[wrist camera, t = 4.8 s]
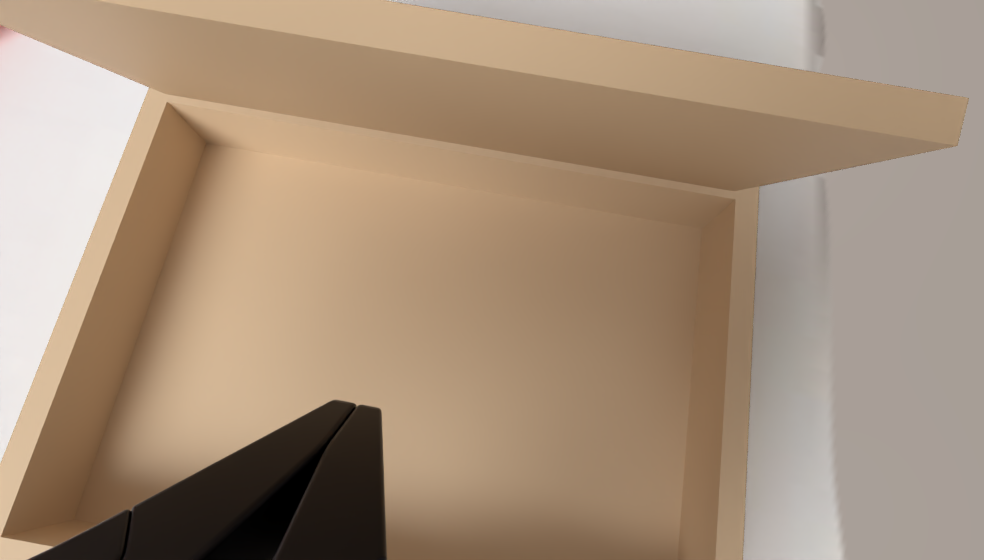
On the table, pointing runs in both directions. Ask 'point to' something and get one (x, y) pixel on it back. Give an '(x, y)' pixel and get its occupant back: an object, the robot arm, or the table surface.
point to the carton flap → (502, 85)
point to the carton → (403, 338)
